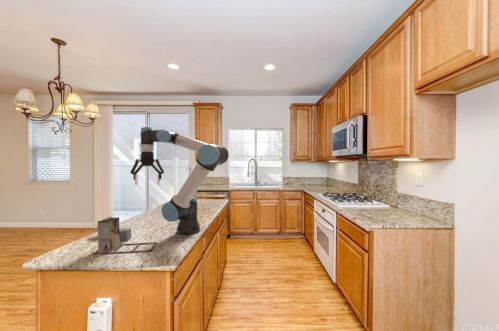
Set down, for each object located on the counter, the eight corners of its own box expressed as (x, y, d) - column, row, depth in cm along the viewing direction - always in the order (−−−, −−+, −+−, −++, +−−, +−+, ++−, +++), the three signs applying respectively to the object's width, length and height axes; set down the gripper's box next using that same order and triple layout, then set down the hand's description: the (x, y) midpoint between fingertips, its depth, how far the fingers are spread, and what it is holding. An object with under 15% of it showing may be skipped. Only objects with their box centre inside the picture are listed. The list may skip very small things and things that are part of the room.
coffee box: (108, 246, 127) (108, 217, 127) (120, 246, 127) (119, 217, 127) (97, 253, 118) (97, 221, 118) (110, 252, 118) (110, 221, 118)
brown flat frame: (157, 243, 132) (157, 242, 132) (151, 251, 119) (151, 250, 119) (104, 245, 128) (104, 244, 128) (92, 254, 115) (92, 253, 115)
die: (131, 237, 142) (130, 227, 141) (127, 241, 136) (127, 230, 136) (120, 238, 141) (120, 228, 141) (116, 241, 135) (116, 231, 135)
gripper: (168, 151, 154) (169, 183, 155) (128, 151, 151) (129, 184, 151) (166, 151, 147) (166, 184, 147) (124, 151, 144) (124, 185, 144)
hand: (147, 184), depth 149 cm, fingers open, 13 cm apart
